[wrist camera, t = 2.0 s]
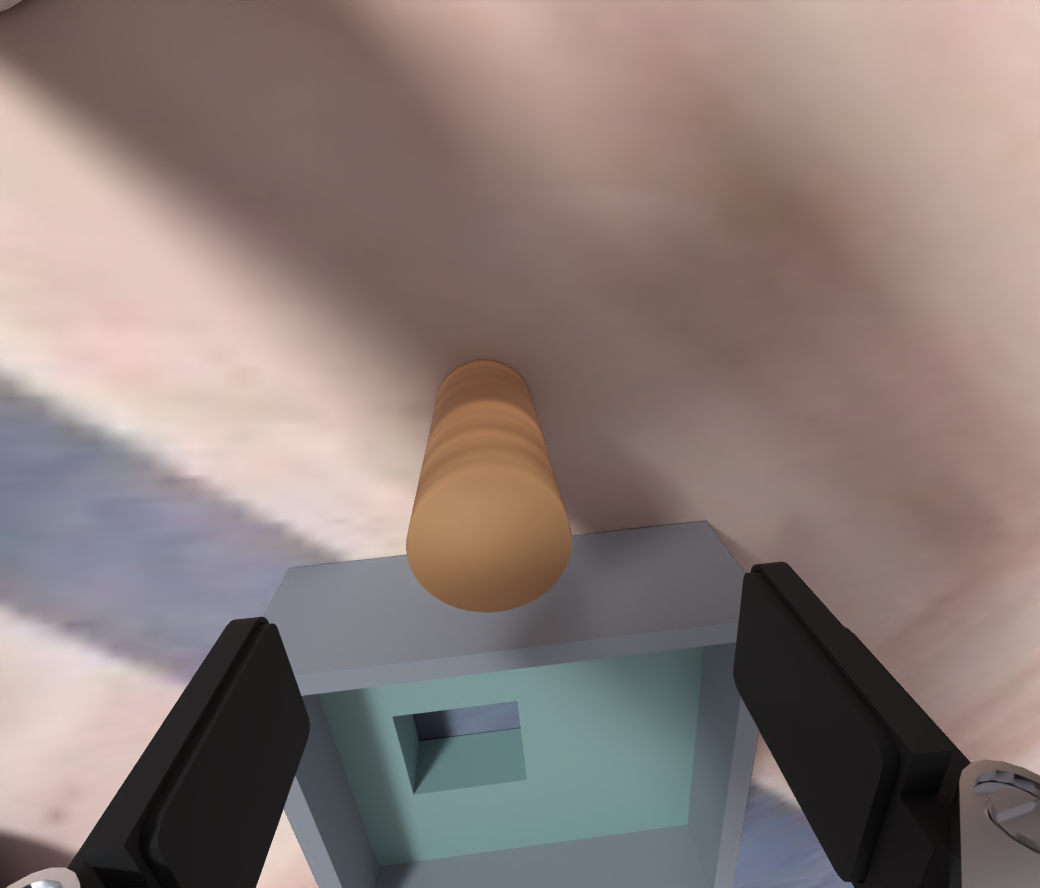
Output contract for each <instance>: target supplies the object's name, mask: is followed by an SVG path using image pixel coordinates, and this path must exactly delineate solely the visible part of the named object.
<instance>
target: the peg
mask: <svg viewBox="0 0 1040 888" xmlns="http://www.w3.org/2000/svg"><path fill="white" fill-rule="evenodd" d="M571 549H572V535H571V529H570V525H569V522H568V519H567V515H566V512H565V508H564V505H563V502H562V498H561V495H560V492H559V488H558V485H557V482H556V478H555V475H554V472H553V468H552V465H551V462H550V458H549V455H548V451H547V448H546V445H545V441H544V438H543V435H542V431H541V428H540V425H539V421H538V418H537V415H536V411H535V408H534V405H533V401H532V398H531V395H530V391H529V389H528V386H527V384H526V383H525V381H524V379H523V378H522V377H521V376H520V375H519V374H518V373H517V372H516V371H515V370H513V369H512V368H511V367H509V366H507V365H505V364H503V363H500V362H496V361H492V360H477V361H472V362H468V363H466V364H463V365H461V366H459V367H458V368H456V369H455V370H453V371H452V372H451V373H450V374H449V375H448V376H447V377H446V378H445V380H444V381H443V383H442V385H441V387H440V389H439V392H438V395H437V400H436V405H435V409H434V414H433V418H432V423H431V428H430V432H429V437H428V442H427V446H426V451H425V455H424V460H423V465H422V469H421V474H420V478H419V483H418V488H417V492H416V497H415V501H414V506H413V511H412V515H411V520H410V525H409V529H408V534H407V539H406V551H407V558H408V562H409V565H410V568H411V570H412V572H413V574H414V576H415V577H416V579H417V580H418V582H419V583H420V584H421V585H422V586H423V587H424V588H425V590H427V591H428V592H429V593H430V594H431V595H433V596H434V597H436V598H437V599H439V600H440V601H442V602H444V603H446V604H448V605H450V606H453V607H456V608H459V609H463V610H467V611H473V612H487V613H489V612H500V611H506V610H511V609H514V608H518V607H520V606H523V605H526V604H528V603H530V602H532V601H534V600H536V599H537V598H539V597H540V596H542V595H543V594H544V593H546V592H547V591H548V590H549V589H550V588H551V587H552V586H553V585H554V584H555V583H556V582H557V581H558V580H559V578H560V577H561V575H562V574H563V572H564V570H565V568H566V566H567V564H568V561H569V558H570V554H571Z"/></svg>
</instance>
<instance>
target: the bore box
mask: <svg viewBox="0 0 1040 888" xmlns="http://www.w3.org/2000/svg"><path fill="white" fill-rule="evenodd" d="M745 574H746V573H745V572H744V571H743V569H742V568H741V567H740V565H739V564H738V563H737V561H736V560H735V559H734V557H733V556H732V555H731V553H730V552H729V551H728V549H727V548H726V547H725V545H724V544H723V543H722V541H721V540H720V539H719V537H718V536H717V535H716V533H715V532H714V531H713V529H712V528H711V527H710V525H709V524H708V523H707V521H699V522H690V523H681V524H672V525H664V526H655V527H646V528H637V529H628V530H620V531H611V532H602V533H593V534H585V535H576V536H572V549H571V554H570V558H569V561H568V564H567V566H566V568H565V570H564V572H563V574H562V575H561V577H560V578H559V580H558V581H557V582H556V583H555V584H554V585H553V586H552V587H551V588H550V589H549V590H548V591H547V592H546V593H544V594H543V595H542V596H540V597H539V598H537V599H536V600H534V601H532V602H530V603H528V604H526V605H523V606H520V607H518V608H514V609H511V610H506V611H500V612H489V613H487V612H473V611H467V610H463V609H459V608H456V607H453V606H450V605H448V604H446V603H444V602H442V601H440V600H439V599H437V598H436V597H434V596H433V595H431V594H430V593H429V592H428V591H427V590H425V588H424V587H423V586H422V585H421V584H420V583H419V582H418V580H417V579H416V577H415V576H414V574H413V572H412V570H411V568H410V565H409V562H408V558H407V555H401V556H392V557H383V558H374V559H366V560H357V561H348V562H339V563H331V564H322V565H313V566H304V567H296V568H289V569H288V571H287V573H286V575H285V576H284V578H283V580H282V582H281V584H280V586H279V588H278V590H277V592H276V593H275V595H274V597H273V599H272V601H271V603H270V605H269V607H268V609H267V610H266V612H265V614H264V616H263V617H265V618H266V619H267V620H268V622H269V624H271V623H273V624H275V625H277V627H278V630H279V633H280V636H281V638H282V641H283V644H284V647H285V650H286V653H287V656H288V659H289V661H290V664H291V667H292V670H293V673H294V676H295V679H296V681H297V684H298V687H299V690H300V693H301V696H302V699H303V702H304V704H305V707H306V710H307V713H308V716H309V720H310V732H309V737H308V741H307V743H306V746H305V749H304V752H303V755H302V758H301V760H300V763H299V766H298V769H297V772H296V775H295V777H294V780H293V783H292V786H291V789H290V792H289V795H288V797H287V800H286V803H285V806H284V811H285V813H286V816H287V818H288V820H289V822H290V824H291V827H292V829H293V831H294V833H295V836H296V838H297V840H298V842H299V844H300V847H301V849H302V851H303V853H304V856H305V858H306V860H307V862H308V864H309V867H310V869H311V871H312V873H313V876H314V878H315V880H316V882H317V884H318V887H319V888H733V883H734V877H735V871H736V865H737V859H738V853H739V847H740V841H741V835H742V829H743V824H744V818H745V812H746V806H747V800H748V794H749V788H750V782H751V776H752V770H753V764H754V758H755V753H756V747H757V741H758V735H759V729H758V727H757V726H756V724H755V722H754V720H753V718H752V716H751V714H750V713H749V711H748V709H747V707H746V705H745V703H744V702H743V700H742V698H741V696H740V694H739V692H738V690H737V688H736V685H735V682H734V676H733V667H734V658H735V649H736V640H737V631H738V622H739V613H740V604H741V594H742V585H743V578H744V575H745ZM513 701H518V709H519V718H520V726H521V728H518V729H510V730H502V731H494V732H486V733H479V734H471V735H463V736H455V737H447V738H440V739H432V740H424V741H419V738H418V734H417V730H416V726H415V722H414V717H413V714H417V713H425V712H433V711H441V710H449V709H457V708H465V707H473V706H481V705H489V704H497V703H505V702H513Z"/></svg>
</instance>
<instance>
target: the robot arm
mask: <svg viewBox="0 0 1040 888" xmlns="http://www.w3.org/2000/svg"><path fill="white" fill-rule="evenodd" d="M20 1H22V0H0V12H1V11H4V10H7V9H9V8H10V7H12V6H14V5H15V4H17V3H19V2H20ZM733 676H734V682H735V685H736V688H737V690H738V692H739V694H740V696H741V698H742V700H743V702H744V703H745V705H746V707H747V709H748V711H749V713H750V714H751V716H752V718H753V720H754V722H755V724H756V726H757V727H758V729H759V731H760V733H761V735H762V737H763V738H764V740H765V742H766V744H767V746H768V748H769V750H770V751H771V753H772V755H773V757H774V759H775V761H776V762H777V764H778V766H779V768H780V770H781V772H782V774H783V775H784V777H785V779H786V781H787V783H788V785H789V787H790V788H791V790H792V792H793V794H794V796H795V798H796V799H797V801H798V803H799V805H800V807H801V809H802V811H803V812H804V814H805V816H806V818H807V820H808V822H809V823H810V825H811V827H812V829H813V831H814V833H815V835H816V836H817V838H818V840H819V842H820V844H821V846H822V847H823V849H824V851H825V853H826V855H827V857H828V859H829V860H830V862H831V864H832V866H833V868H834V869H835V871H836V873H837V874H838V876H839V877H840V878H841V879H842V880H843V881H845V882H852V884H853V886H854V888H1040V776H1039V775H1037V774H1035V773H1033V772H1031V771H1029V770H1027V769H1025V768H1022V767H1019V766H1016V765H1013V764H1009V763H1006V762H1002V761H992V760H982V761H977V762H973V763H971V762H970V761H969V760H968V759H967V758H966V757H965V756H964V755H963V754H962V752H961V751H960V750H959V749H958V748H957V747H956V746H955V745H954V744H953V743H952V741H951V740H950V739H949V738H948V737H947V736H946V735H945V734H944V733H943V732H942V730H941V729H940V728H939V727H938V726H937V725H936V724H935V723H934V722H933V720H932V719H931V718H930V717H929V716H928V715H927V714H926V713H925V712H924V711H923V709H922V708H921V707H920V706H919V705H918V704H917V703H916V702H915V701H914V699H913V698H912V697H911V696H910V695H909V694H908V693H907V692H906V691H905V690H904V688H903V687H902V686H901V685H900V684H899V683H898V682H897V681H896V680H895V678H894V677H893V676H892V675H891V674H890V673H889V672H888V671H887V670H886V669H885V667H884V666H883V665H882V664H881V663H880V662H879V661H878V660H877V659H876V657H875V656H874V655H873V654H872V653H871V652H870V651H869V650H868V649H867V648H866V646H865V645H864V644H863V643H862V642H861V641H860V640H859V639H858V638H857V636H856V635H855V634H853V633H852V632H851V631H850V630H849V629H848V628H845V627H844V626H843V625H842V624H841V623H840V622H839V621H838V619H837V618H836V617H835V616H834V615H833V614H832V613H831V612H830V611H829V609H828V608H827V607H826V606H825V605H824V604H823V603H822V602H821V601H820V599H819V598H818V597H817V596H816V595H815V594H814V593H813V592H812V590H811V589H810V588H809V587H808V586H807V585H806V584H805V583H804V582H803V580H802V579H801V578H800V577H799V576H798V575H797V574H796V573H795V571H794V570H793V569H792V568H791V567H790V566H789V565H788V564H787V563H785V562H775V563H765V564H756V565H753V567H752V569H751V573H746V574H745V575H744V578H743V585H742V594H741V604H740V613H739V622H738V631H737V640H736V649H735V658H734V667H733ZM309 732H310V720H309V716H308V713H307V710H306V707H305V704H304V702H303V699H302V696H301V693H300V690H299V687H298V684H297V681H296V679H295V676H294V673H293V670H292V667H291V664H290V661H289V659H288V656H287V653H286V650H285V647H284V644H283V641H282V638H281V636H280V633H279V630H278V627H277V625H275V624H273V623H271V624H269V622H268V620H267V619H266V618H265V617H255V618H246V619H237V620H233V621H231V622H230V623H229V624H228V625H227V626H226V628H225V629H224V631H223V632H222V634H221V635H220V637H219V638H218V640H217V641H216V643H215V645H214V646H213V648H212V649H211V651H210V652H209V654H208V655H207V657H206V658H205V660H204V661H203V663H202V664H201V666H200V667H199V669H198V670H197V672H196V673H195V675H194V676H193V678H192V680H191V681H190V683H189V684H188V686H187V687H186V689H185V690H184V692H183V693H182V695H181V696H180V698H179V699H178V701H177V702H176V704H175V705H174V707H173V708H172V710H171V711H170V713H169V714H168V716H167V717H166V719H165V721H164V722H163V724H162V725H161V727H160V728H159V730H158V731H157V733H156V734H155V736H154V737H153V739H152V740H151V742H150V743H149V745H148V746H147V748H146V749H145V751H144V752H143V754H142V756H141V757H140V759H139V760H138V762H137V763H136V765H135V766H134V768H133V769H132V771H131V772H130V774H129V775H128V777H127V778H126V780H125V781H124V783H123V784H122V786H121V787H120V789H119V791H118V792H117V794H116V795H115V797H114V798H113V800H112V801H111V803H110V804H109V806H108V807H107V809H106V810H105V812H104V813H103V815H102V816H101V818H100V819H99V821H98V822H97V824H96V826H95V827H94V829H93V830H92V832H91V833H90V835H89V836H88V838H87V839H86V841H85V842H84V844H83V845H82V847H81V848H80V850H79V851H78V853H77V854H76V856H75V857H74V859H73V860H72V862H71V864H70V865H69V867H68V868H65V867H58V868H47V869H44V870H41V871H38V872H35V873H32V874H29V875H28V876H26V877H24V878H22V879H20V880H18V881H17V882H15V883H13V884H11V885H9V886H8V887H7V888H256V885H257V883H258V880H259V877H260V874H261V871H262V868H263V866H264V863H265V860H266V857H267V854H268V851H269V848H270V846H271V843H272V840H273V837H274V834H275V831H276V829H277V826H278V823H279V820H280V817H281V814H282V812H283V809H284V806H285V803H286V800H287V797H288V795H289V792H290V789H291V786H292V783H293V780H294V777H295V775H296V772H297V769H298V766H299V763H300V760H301V758H302V755H303V752H304V749H305V746H306V743H307V741H308V737H309Z"/></svg>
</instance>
